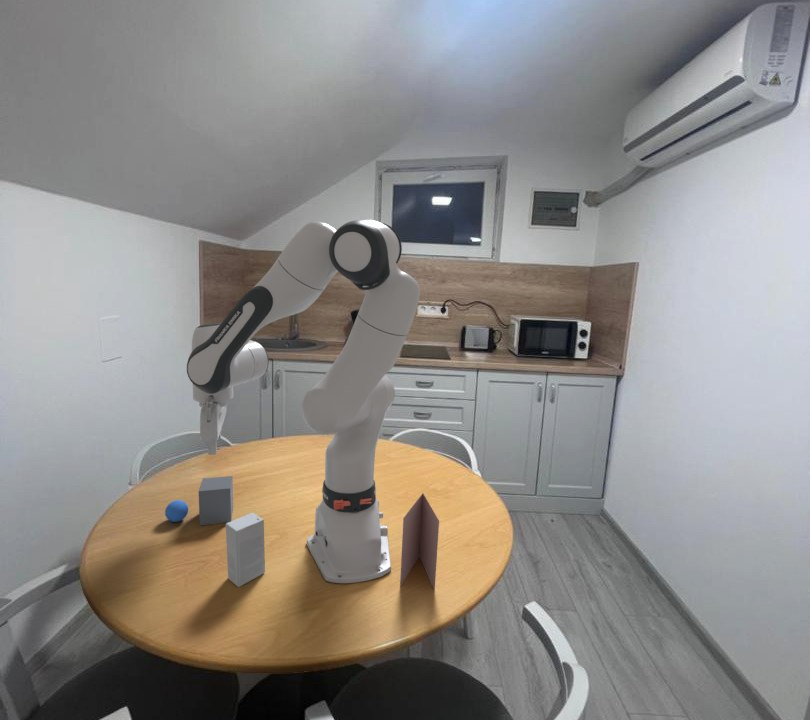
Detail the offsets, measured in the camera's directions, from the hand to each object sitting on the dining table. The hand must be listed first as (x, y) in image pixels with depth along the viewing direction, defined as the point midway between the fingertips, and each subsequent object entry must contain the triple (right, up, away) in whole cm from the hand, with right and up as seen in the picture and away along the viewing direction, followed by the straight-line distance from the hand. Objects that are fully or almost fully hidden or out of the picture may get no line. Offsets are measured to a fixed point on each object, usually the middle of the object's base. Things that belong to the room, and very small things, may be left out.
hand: (214, 446), depth 105 cm
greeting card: (+50, -24, -15) cm, 57 cm away
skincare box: (+14, -23, -18) cm, 32 cm away
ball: (-9, -16, 0) cm, 18 cm away
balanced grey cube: (-1, -18, +3) cm, 18 cm away
